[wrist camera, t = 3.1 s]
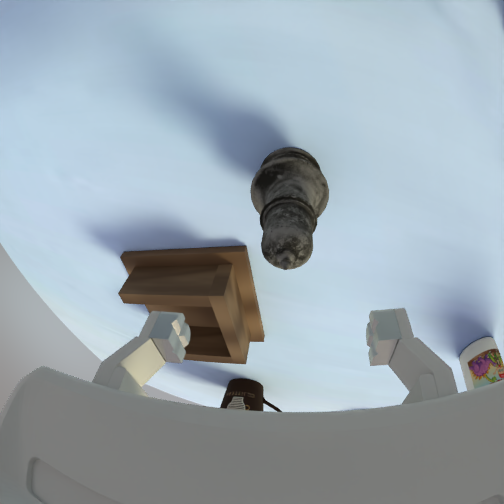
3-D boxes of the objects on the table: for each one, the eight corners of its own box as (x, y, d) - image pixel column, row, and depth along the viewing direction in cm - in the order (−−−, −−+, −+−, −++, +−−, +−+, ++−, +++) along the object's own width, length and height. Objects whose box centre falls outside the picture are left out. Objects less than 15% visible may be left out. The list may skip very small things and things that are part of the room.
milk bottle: (483, 356, 37) (506, 448, 21) (452, 364, 39) (471, 463, 23) (500, 331, 32) (530, 432, 17) (467, 339, 34) (494, 450, 19)
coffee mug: (219, 388, 51) (209, 434, 43) (227, 370, 45) (216, 423, 38) (276, 401, 51) (270, 446, 43) (291, 385, 46) (287, 436, 38)
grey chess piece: (319, 210, 25) (329, 312, 16) (254, 203, 26) (228, 301, 16) (329, 148, 22) (356, 226, 12) (257, 140, 22) (226, 212, 13)
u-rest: (123, 251, 32) (102, 282, 27) (246, 245, 29) (236, 283, 24) (165, 331, 41) (153, 361, 36) (264, 335, 38) (259, 370, 33)
